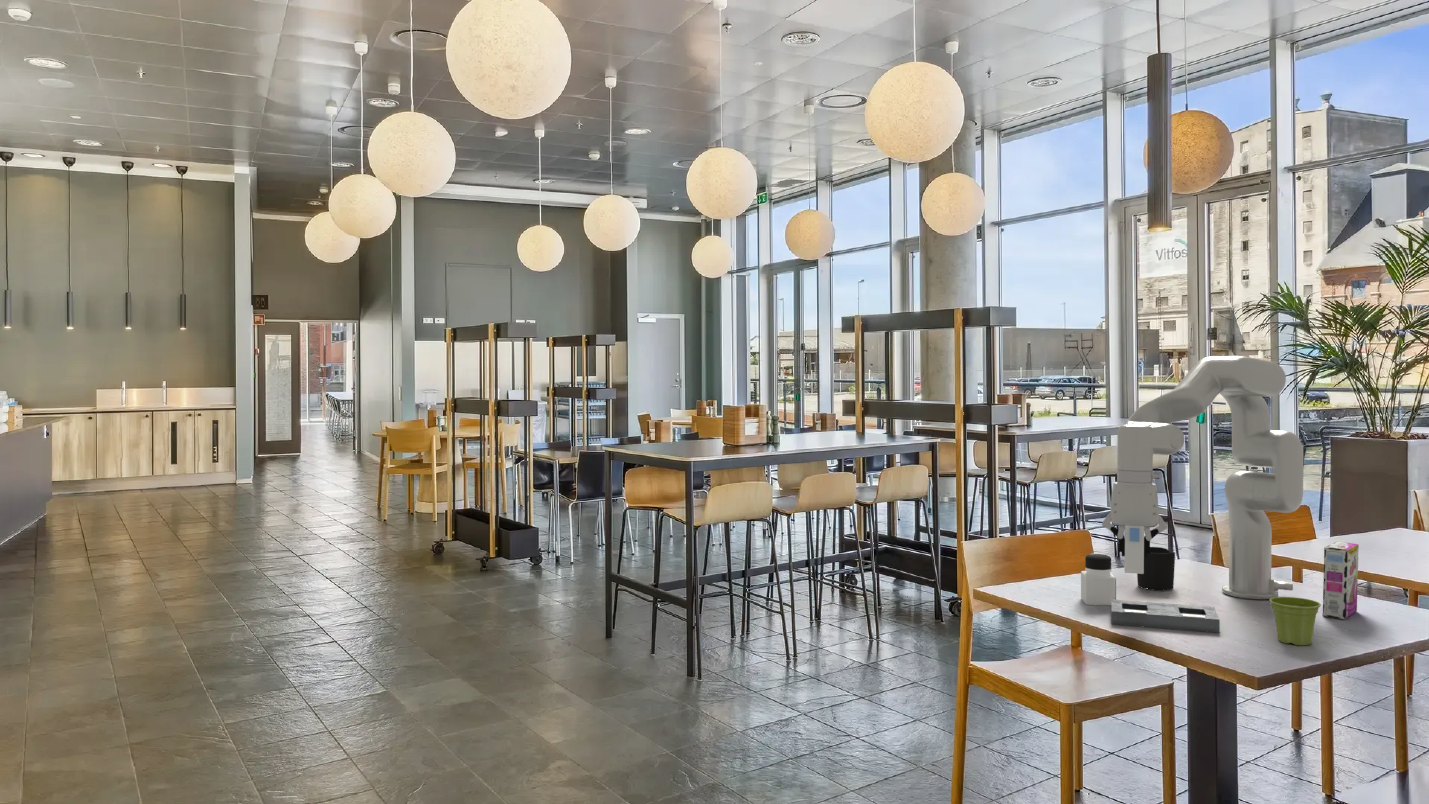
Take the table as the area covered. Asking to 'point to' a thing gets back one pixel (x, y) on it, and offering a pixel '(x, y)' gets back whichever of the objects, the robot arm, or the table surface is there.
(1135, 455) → the robot arm
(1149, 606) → the jack panel
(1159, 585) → the pen holder
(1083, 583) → the medicine bottle
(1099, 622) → the table surface
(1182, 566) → the table surface
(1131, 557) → the plug
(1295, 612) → the plant pot
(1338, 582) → the candy bar box
